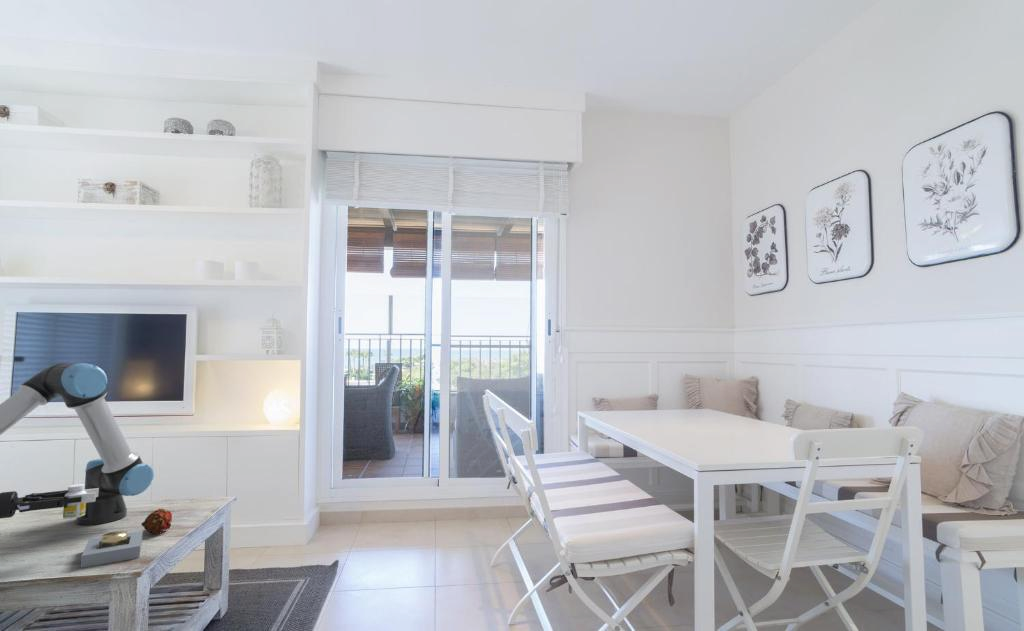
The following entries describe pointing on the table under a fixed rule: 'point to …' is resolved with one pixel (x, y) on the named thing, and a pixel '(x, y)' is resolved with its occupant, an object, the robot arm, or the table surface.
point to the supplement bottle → (75, 509)
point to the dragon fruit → (158, 521)
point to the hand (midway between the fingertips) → (96, 494)
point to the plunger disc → (114, 538)
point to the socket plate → (111, 550)
